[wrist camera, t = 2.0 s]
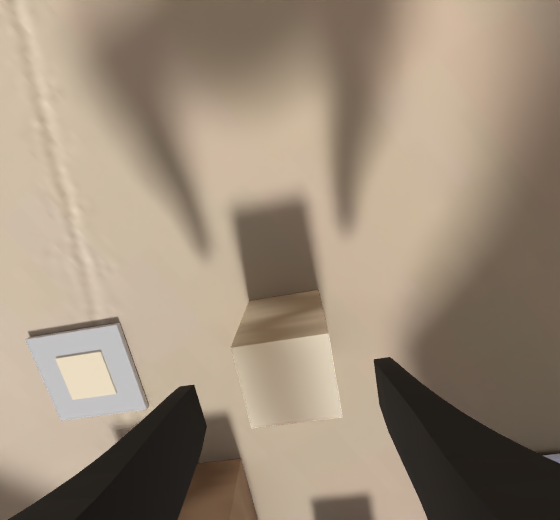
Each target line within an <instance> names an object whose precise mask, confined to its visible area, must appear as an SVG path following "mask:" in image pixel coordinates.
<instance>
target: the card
mask: <svg viewBox="0 0 560 520" xmlns="http://www.w3.org/2000/svg"><path fill="white" fill-rule="evenodd" d="M25 341H26V343H27V345H28V348H29V350H30V352H31V354H32V357H33V359H34V361H35V363H36V366H37V368H38V370H39V372H40V375H41V377H42V379H43V381H44V384H45V386H46V388H47V390H48V393H49V395H50V397H51V399H52V402H53V404H54V406H55V408H56V411H57V413H58V415H59V417H60V420H61V421H65V420H72V419H80V418H87V417H95V416H103V415H110V414H118V413H125V412H133V411H140V410H147V408H148V407H149V405H148V402H147V399H146V396H145V393H144V391H143V388H142V385H141V382H140V379H139V376H138V374H137V371H136V368H135V365H134V362H133V359H132V357H131V354H130V351H129V348H128V345H127V342H126V340H125V337H124V334H123V331H122V328H121V325H120V323H113V324H107V325H101V326H95V327H89V328H83V329H77V330H71V331H64V332H58V333H52V334H46V335H40V336H34V337H29V338H27V339H25Z"/></svg>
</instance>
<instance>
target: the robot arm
mask: <svg viewBox="0 0 560 520" xmlns="http://www.w3.org/2000/svg"><path fill="white" fill-rule="evenodd" d="M374 366H375V373H376V381H377V389H378V397H379V405H380V408H381V411H382V414H383V417H384V420H385V423H386V425H387V428H388V431H389V434H390V436H391V438H392V440H393V442H394V445H395V447H396V449H397V451H398V453H399V456H400V458H401V460H402V462H403V464H404V466H405V469H406V471H407V473H408V475H409V477H410V480H411V482H412V484H413V486H414V488H415V490H416V493H417V495H418V497H419V499H420V502H421V504H422V506H423V509H424V511H425V514H426V516H427V519H428V520H560V454H552V455H540V454H538V453H536V452H534V451H532V450H530V449H528V448H526V447H524V446H522V445H520V444H518V443H516V442H514V441H512V440H510V439H508V438H506V437H504V436H502V435H500V434H499V433H497V432H495V431H493V430H491V429H489V428H488V427H486V426H484V425H483V424H481V423H479V422H478V421H476V420H474V419H473V418H471V417H469V416H467V415H466V414H464V413H463V412H461V411H460V410H458V409H456V408H455V407H454V406H452V405H451V404H449V403H448V402H446V401H445V400H443V399H442V398H441V397H439V396H438V395H436V394H435V393H434V392H433V391H431V390H430V389H429V388H427V387H426V386H425V385H423V384H422V383H421V382H419V381H418V380H417V379H416V378H414V377H413V376H412V375H411V374H410V373H408V372H407V371H406V370H405V369H404V368H402V367H401V366H400V365H399V364H398V363H397V362H395V361H394V360H393V359H392V358H390V357H388V358H380V359H374ZM206 427H207V426H206V422H205V419H204V416H203V413H202V409H201V406H200V403H199V399H198V396H197V393H196V390H195V386H194V385H188V386H181V387H179V388H177V389H176V390H175V391H174V392H173V393H171V394H170V395H169V396H168V397H167V398H166V399H165V400H164V401H163V402H162V403H161V404H159V405H158V406H157V407H156V408H155V409H154V410H153V411H152V412H151V413H150V414H149V415H148V416H146V417H145V418H144V419H143V420H142V421H141V422H140V423H139V424H138V425H137V426H136V427H134V428H133V429H132V430H131V431H130V432H129V433H127V434H126V435H125V436H124V437H123V438H122V439H120V440H119V441H118V442H117V443H116V444H115V445H114V446H112V447H111V448H110V449H109V450H108V451H106V452H105V453H104V454H103V455H101V456H100V457H99V458H98V459H96V460H95V461H94V462H92V463H91V464H90V465H88V466H87V467H86V468H84V469H83V470H82V471H80V472H79V473H78V474H76V475H75V476H74V477H72V478H71V479H69V480H68V481H66V482H65V483H64V484H62V485H61V486H59V487H58V488H56V489H55V490H53V491H52V492H50V493H49V494H47V495H46V496H44V497H43V498H42V499H40V500H39V501H37V502H35V503H34V504H32V505H31V506H29V507H28V508H26V509H24V510H23V511H21V512H20V513H18V514H16V515H15V516H13V517H11V518H10V519H8V520H178V517H179V514H180V512H181V509H182V506H183V503H184V500H185V497H186V495H187V492H188V489H189V486H190V483H191V480H192V478H193V475H194V472H195V469H196V466H197V463H198V460H199V457H200V454H201V450H202V446H203V441H204V437H205V432H206Z"/></svg>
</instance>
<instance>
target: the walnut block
mask: <svg viewBox="0 0 560 520" xmlns="http://www.w3.org/2000/svg"><path fill="white" fill-rule="evenodd" d="M178 520H258V519H257V515H256V512H255V508H254V504H253V500H252V497H251V493H250V489H249V486H248V482H247V478H246V475H245V471H244V467H243V464H242V460H241V459H233V460H224V461H214V462H205V463H197V466H196V469H195V472H194V475H193V478H192V480H191V483H190V486H189V489H188V492H187V495H186V497H185V500H184V503H183V506H182V509H181V512H180V514H179V517H178Z"/></svg>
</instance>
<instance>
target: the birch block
mask: <svg viewBox="0 0 560 520" xmlns="http://www.w3.org/2000/svg"><path fill="white" fill-rule="evenodd" d="M231 352H232V355H233V359H234V363H235V367H236V371H237V375H238V379H239V383H240V386H241V390H242V394H243V398H244V402H245V406H246V410H247V413H248V417H249V421H250V425H251V428H260V427H268V426H276V425H284V424H293V423H301V422H309V421H317V420H326V419H334V418H342V417H343V416H342V410H341V404H340V398H339V392H338V386H337V380H336V374H335V368H334V362H333V356H332V350H331V344H330V338H329V332H328V328H327V324H326V320H325V316H324V312H323V308H322V303H321V299H320V295H319V291H318V290H314V291H308V292H302V293H295V294H289V295H283V296H277V297H271V298H265V299H259V300H252V301H249V303H248V305H247V308H246V310H245V313H244V315H243V318H242V320H241V323H240V325H239V328H238V330H237V333H236V335H235V338H234V340H233V343H232V346H231Z"/></svg>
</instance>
